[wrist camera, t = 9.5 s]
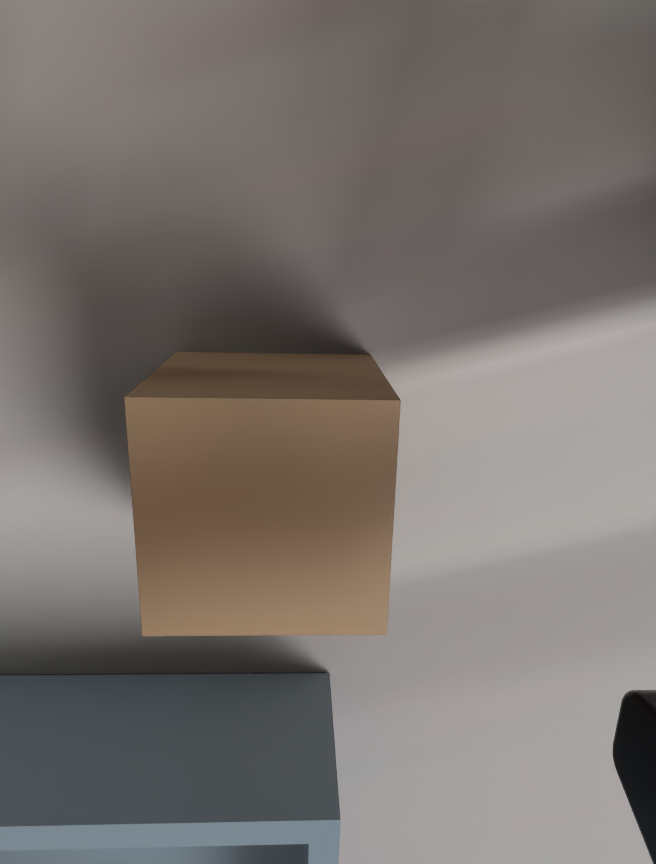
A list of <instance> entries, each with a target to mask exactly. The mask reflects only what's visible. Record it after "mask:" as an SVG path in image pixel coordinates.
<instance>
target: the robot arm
mask: <svg viewBox="0 0 656 864" xmlns="http://www.w3.org/2000/svg"><path fill="white" fill-rule="evenodd" d="M613 759H614V764H615V767H616V770H617V773H618V776H619V778H620V781H621V783H622V786H623V788H624V791H625V793H626V796H627V798H628V801H629V803H630V806H631V808H632V811H633V814H634V816H635V819H636V821H637V824H638V826H639V829H640V831H641V834H642V836H643V839H644V841H645V844H646V846H647V849H648V851H649V854H650V856H651V859H652V861H653V864H656V690H632V691H629V692H627V693H626V694H625V696H624V697H623V699H622V703H621V708H620V713H619V717H618V722H617V727H616V732H615V737H614V742H613Z"/></svg>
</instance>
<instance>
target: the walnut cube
mask: <svg viewBox="0 0 656 864" xmlns="http://www.w3.org/2000/svg"><path fill="white" fill-rule="evenodd" d="M124 400H125V413H126V427H127V440H128V453H129V466H130V480H131V493H132V506H133V519H134V533H135V546H136V559H137V572H138V585H139V599H140V612H141V625H142V636H256V635H386V634H387V620H388V603H389V586H390V570H391V553H392V536H393V519H394V503H395V486H396V469H397V452H398V436H399V419H400V402H401V400H400V399H399V397H398V396H397V394H396V393H395V391H394V390H393V388H392V387H391V385H390V384H389V382H388V380H387V379H386V377H385V376H384V374H383V373H382V371H381V370H380V368H379V367H378V365H377V364H376V362H375V361H374V359H373V358H372V356H371V355H360V354H295V353H230V352H176V353H174V354H173V355H172V356H171V357H170V358H169V359H168V360H166V361H165V362H164V363H163V364H162V365H161V366H160V367H158V368H157V369H156V370H155V371H154V372H153V373H152V374H150V375H149V376H148V377H147V378H146V379H145V380H143V381H142V382H141V383H140V384H139V385H138V386H137V387H135V388H134V389H133V390H132V391H131V392H130V393H129V394H127V395H126V396H125V397H124Z"/></svg>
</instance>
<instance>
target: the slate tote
mask: <svg viewBox="0 0 656 864" xmlns="http://www.w3.org/2000/svg"><path fill="white" fill-rule="evenodd" d="M339 836H340V810H339V796H338V783H337V769H336V756H335V742H334V729H333V715H332V702H331V688H330V675H329V673H283V674H143V675H3V676H0V864H338V858H339Z"/></svg>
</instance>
